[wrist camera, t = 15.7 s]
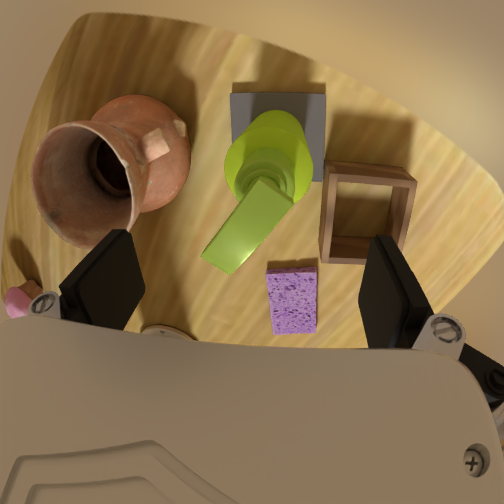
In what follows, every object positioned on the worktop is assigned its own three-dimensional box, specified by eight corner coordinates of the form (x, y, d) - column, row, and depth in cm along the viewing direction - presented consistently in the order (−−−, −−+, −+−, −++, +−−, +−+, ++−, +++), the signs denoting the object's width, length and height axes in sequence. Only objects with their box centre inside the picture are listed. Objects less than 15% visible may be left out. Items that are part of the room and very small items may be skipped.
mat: (321, 179, 33) (322, 181, 32) (235, 177, 34) (234, 179, 33) (324, 94, 27) (325, 94, 26) (231, 93, 28) (229, 93, 27)
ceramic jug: (178, 67, 27) (109, 64, 15) (226, 175, 34) (190, 235, 22) (72, 134, 32) (-2, 169, 20) (116, 219, 39) (60, 279, 27)
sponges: (316, 264, 40) (317, 272, 38) (316, 326, 46) (316, 335, 45) (265, 266, 41) (264, 274, 39) (273, 327, 48) (272, 336, 46)
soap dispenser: (233, 148, 31) (163, 241, 14) (270, 99, 27) (240, 123, 11) (276, 178, 32) (259, 300, 16) (314, 131, 29) (352, 207, 12)
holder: (387, 243, 36) (398, 265, 32) (318, 240, 37) (321, 263, 33) (401, 167, 30) (417, 181, 26) (324, 160, 31) (329, 173, 27)
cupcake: (21, 282, 52) (-3, 309, 43) (27, 264, 48) (0, 293, 40) (46, 307, 55) (24, 336, 46) (54, 292, 51) (30, 324, 42)
